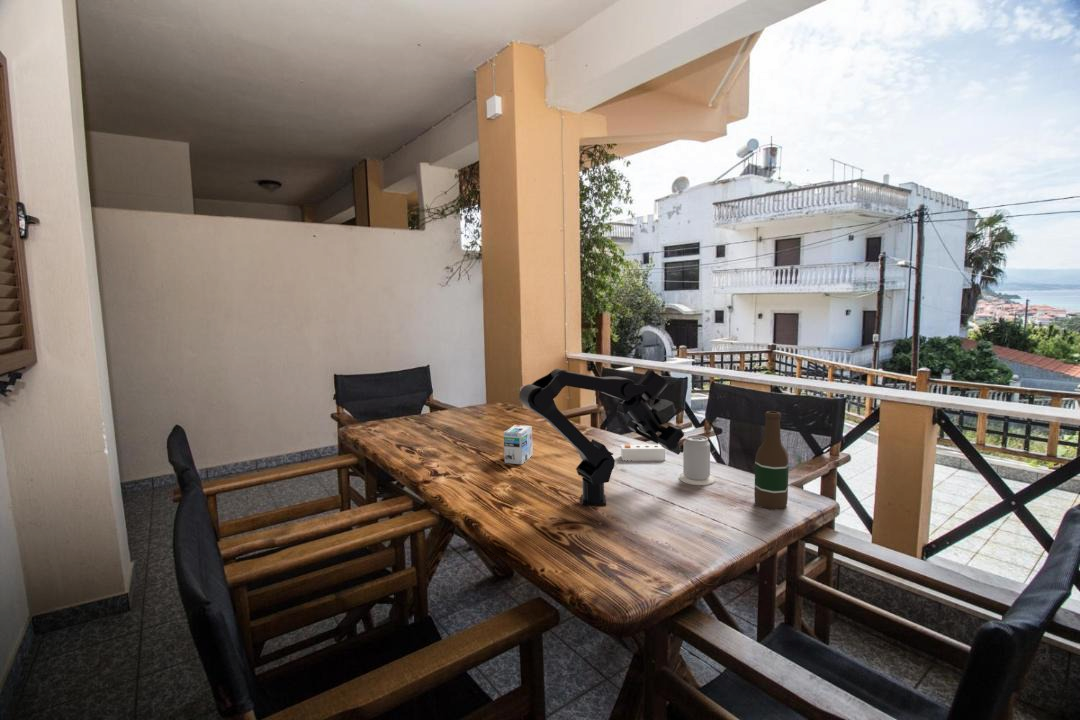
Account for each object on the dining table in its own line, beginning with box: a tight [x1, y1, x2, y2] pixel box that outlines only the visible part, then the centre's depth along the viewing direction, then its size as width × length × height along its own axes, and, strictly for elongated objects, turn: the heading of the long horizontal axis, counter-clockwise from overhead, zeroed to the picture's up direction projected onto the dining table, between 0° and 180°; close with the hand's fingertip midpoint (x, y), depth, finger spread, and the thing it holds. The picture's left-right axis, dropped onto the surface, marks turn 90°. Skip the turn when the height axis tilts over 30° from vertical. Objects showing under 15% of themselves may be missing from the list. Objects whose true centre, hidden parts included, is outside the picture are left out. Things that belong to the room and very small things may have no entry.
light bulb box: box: [503, 424, 534, 465], centre depth 166 cm, size 11×7×11 cm, turn 161°
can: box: [682, 435, 711, 481], centre depth 142 cm, size 8×8×12 cm
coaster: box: [678, 472, 716, 486], centre depth 143 cm, size 10×10×1 cm
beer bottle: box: [754, 410, 790, 511], centre depth 123 cm, size 8×8×24 cm
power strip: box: [620, 443, 666, 462], centre depth 163 cm, size 5×14×5 cm, turn 86°
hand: (668, 447), depth 139 cm, fingers open, 9 cm apart
